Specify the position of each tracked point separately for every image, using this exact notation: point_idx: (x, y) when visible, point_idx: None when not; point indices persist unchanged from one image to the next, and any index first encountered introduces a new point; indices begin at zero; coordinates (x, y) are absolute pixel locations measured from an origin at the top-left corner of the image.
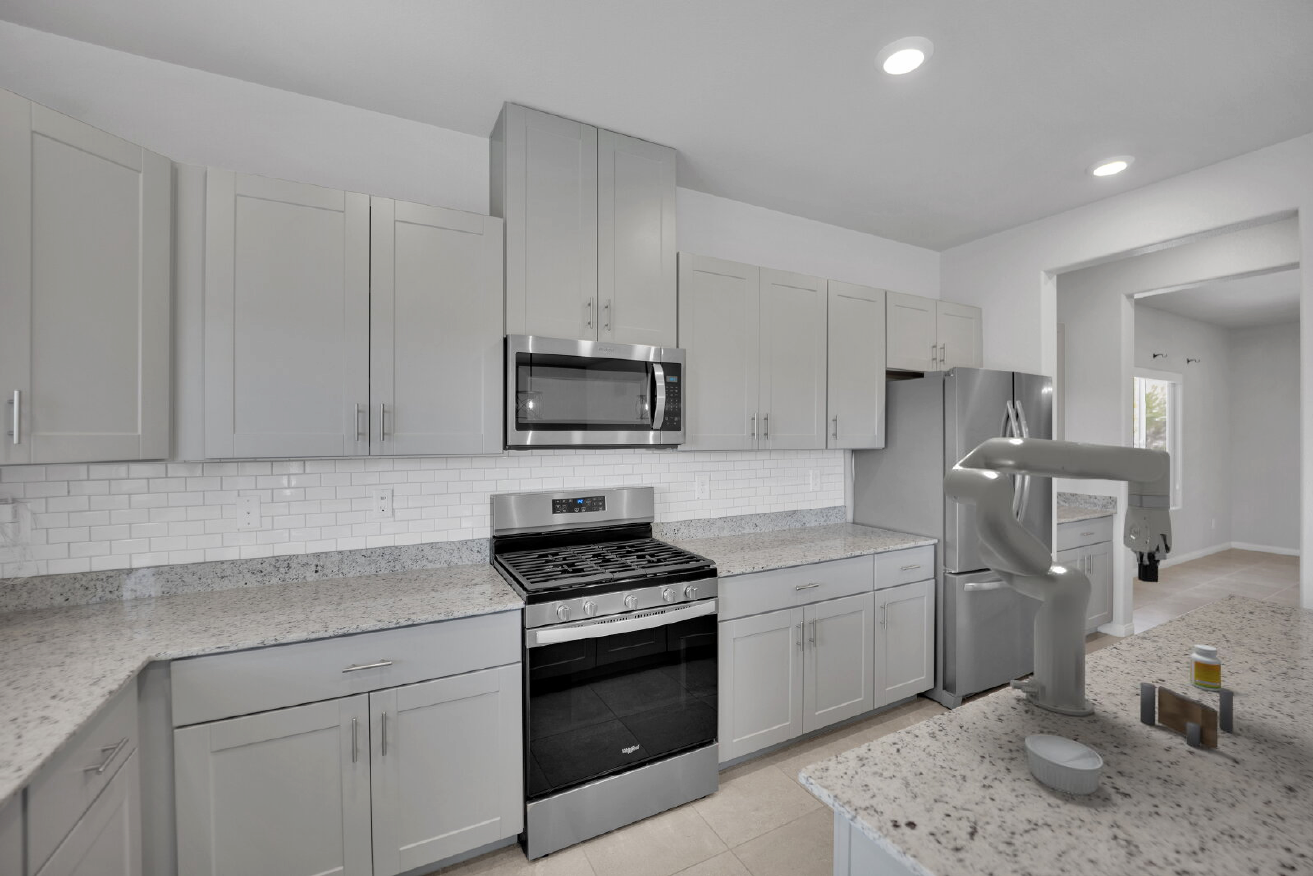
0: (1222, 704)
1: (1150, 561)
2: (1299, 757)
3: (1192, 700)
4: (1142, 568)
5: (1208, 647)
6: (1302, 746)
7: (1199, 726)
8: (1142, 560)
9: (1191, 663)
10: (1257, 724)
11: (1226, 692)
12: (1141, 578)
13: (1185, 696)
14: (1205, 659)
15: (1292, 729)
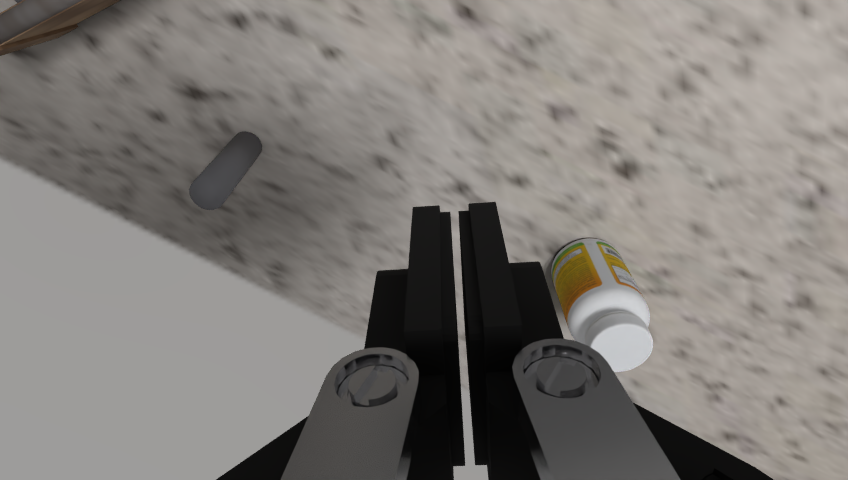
0: (211, 162)
1: (290, 440)
2: (147, 225)
3: (11, 13)
4: (409, 292)
5: (618, 355)
6: (225, 268)
7: (18, 1)
8: (516, 408)
9: (613, 275)
10: (330, 247)
11: (192, 188)
12: (425, 213)
13: (42, 6)
14: (580, 311)
15: (330, 305)
